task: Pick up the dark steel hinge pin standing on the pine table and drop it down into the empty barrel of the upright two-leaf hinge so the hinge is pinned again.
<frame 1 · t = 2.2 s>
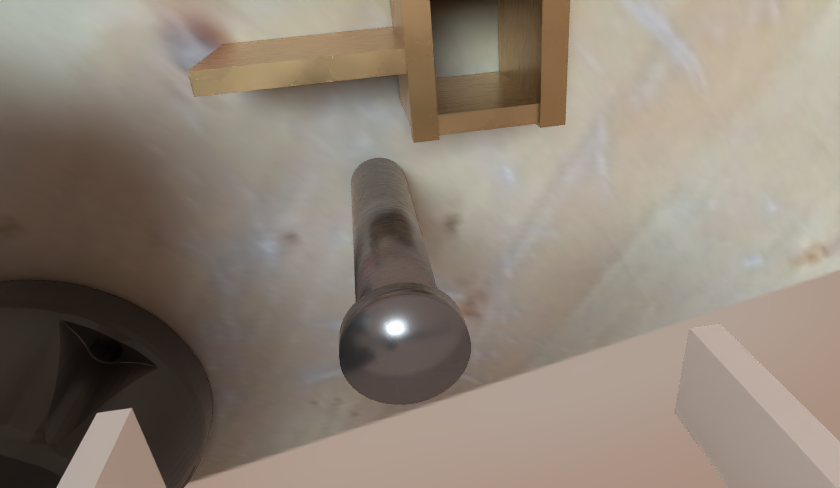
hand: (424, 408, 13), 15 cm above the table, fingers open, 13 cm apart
hinge pin: (378, 184, 27), on the table
hinge: (454, 30, 24), on the table
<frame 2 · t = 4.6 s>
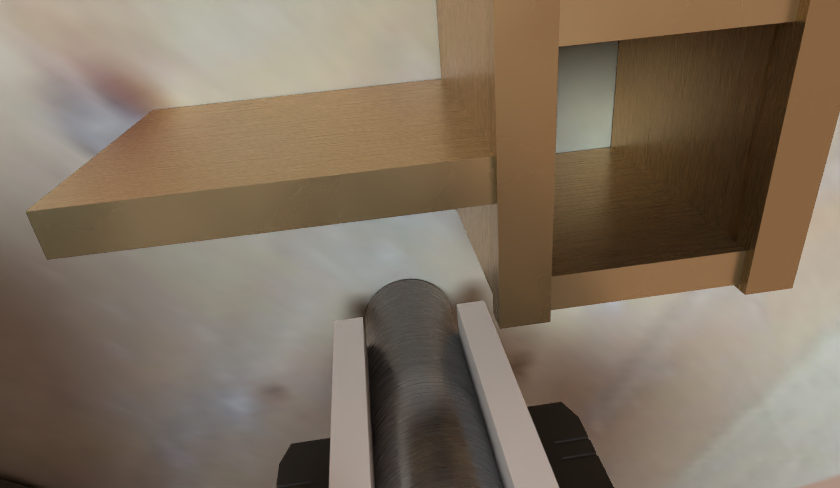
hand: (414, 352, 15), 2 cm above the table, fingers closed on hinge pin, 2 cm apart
hinge pin: (408, 316, 17), on the table, touching gripper
hinge: (543, 83, 14), on the table
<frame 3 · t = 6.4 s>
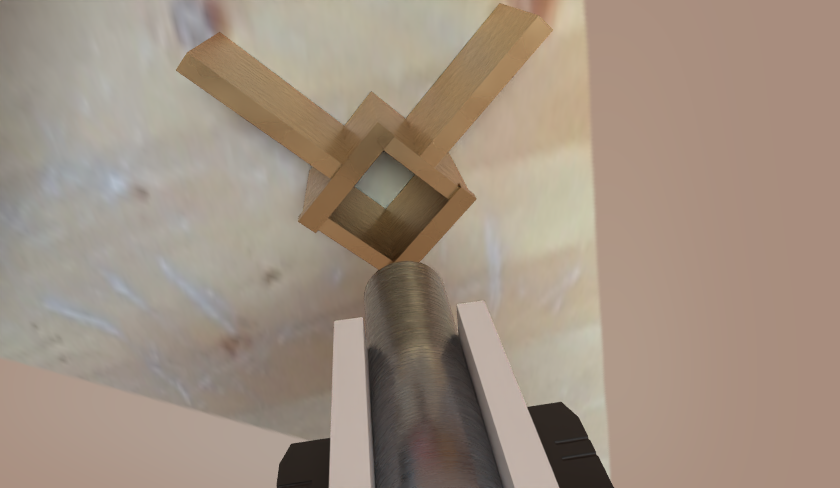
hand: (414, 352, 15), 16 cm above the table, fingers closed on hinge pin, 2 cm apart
hinge pin: (404, 296, 18), point 13 cm above the table, touching gripper
hinge: (379, 162, 29), on the table
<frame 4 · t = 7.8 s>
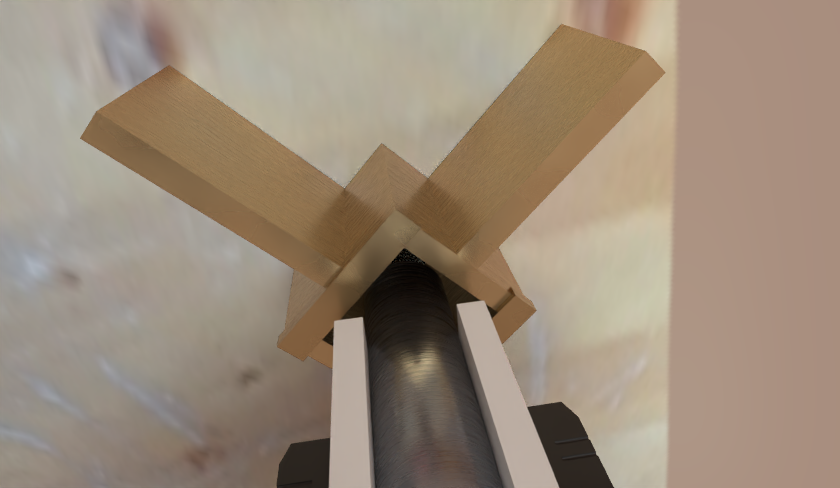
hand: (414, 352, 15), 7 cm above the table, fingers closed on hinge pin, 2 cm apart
hinge pin: (404, 296, 18), point 4 cm above the table, touching gripper
hinge: (392, 234, 22), on the table
when the fingers open (7 cm above the table, at t = 8.7 s): hinge pin drops 4 cm, resting in hinge.
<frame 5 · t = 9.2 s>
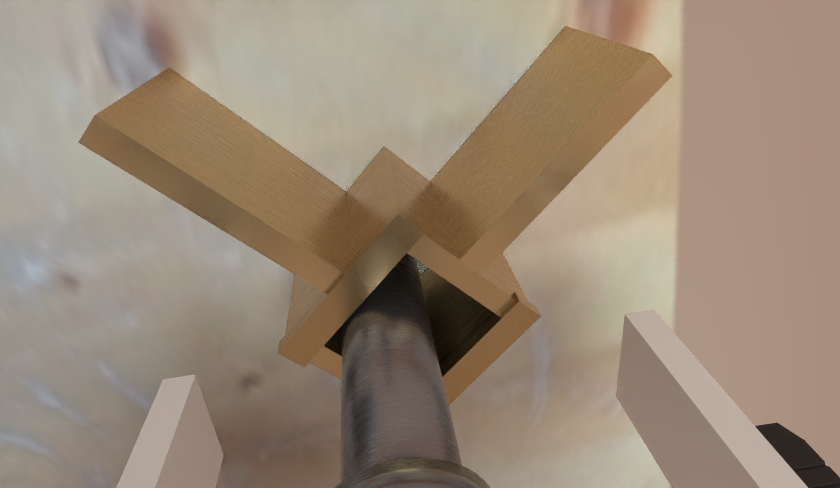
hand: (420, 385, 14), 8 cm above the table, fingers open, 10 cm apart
hinge pin: (377, 241, 22), resting in hinge
hinge: (394, 238, 22), on the table
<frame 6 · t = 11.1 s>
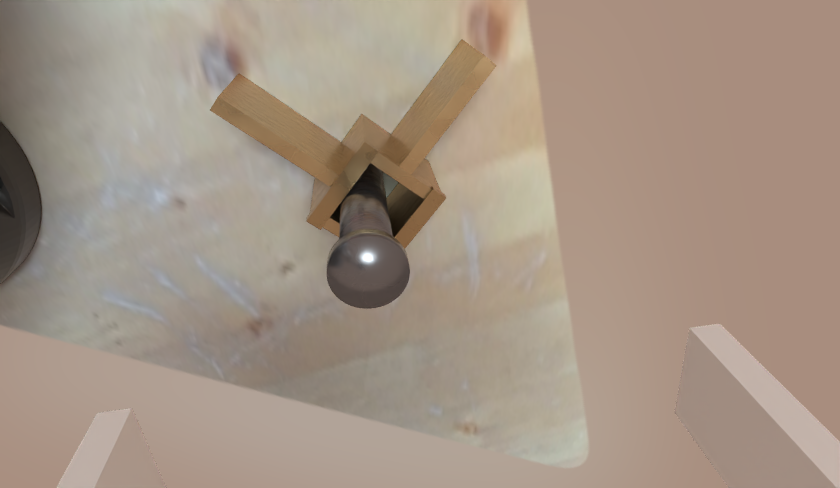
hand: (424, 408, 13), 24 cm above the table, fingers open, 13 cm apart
hinge pin: (361, 172, 36), resting in hinge
hinge: (371, 170, 36), on the table
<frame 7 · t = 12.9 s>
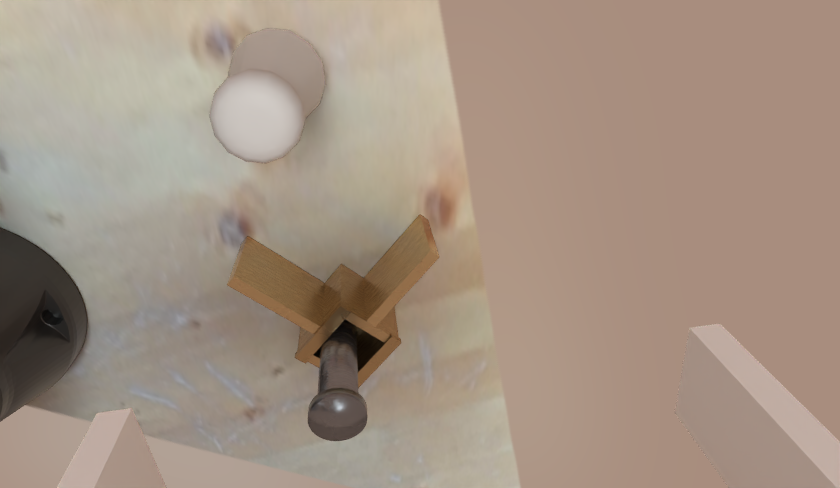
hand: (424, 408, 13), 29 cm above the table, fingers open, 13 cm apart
hinge pin: (339, 304, 46), resting in hinge
hinge: (348, 302, 46), on the table
salt shaker: (282, 70, 37), on the table
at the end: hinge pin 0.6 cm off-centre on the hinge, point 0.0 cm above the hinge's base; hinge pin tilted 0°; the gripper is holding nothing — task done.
